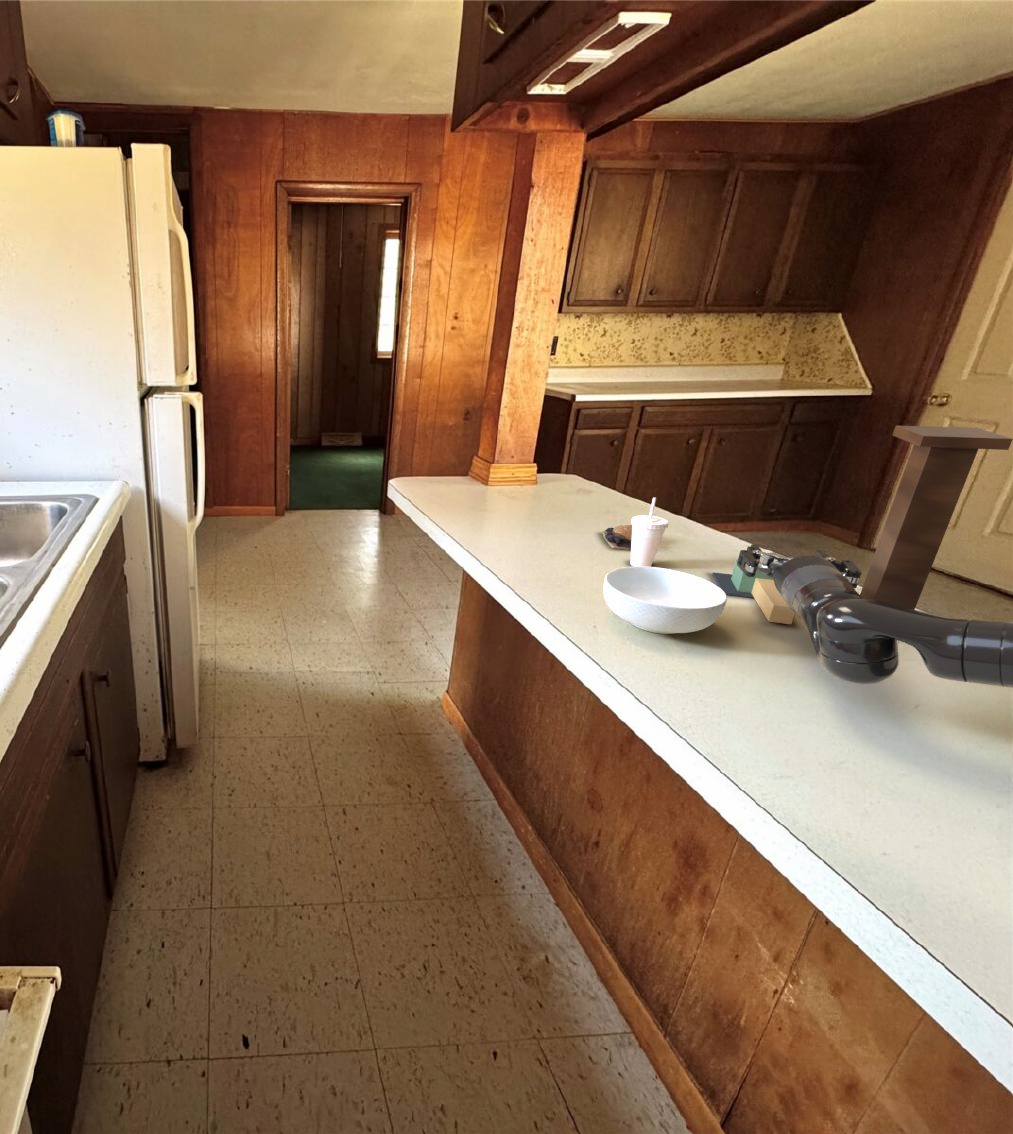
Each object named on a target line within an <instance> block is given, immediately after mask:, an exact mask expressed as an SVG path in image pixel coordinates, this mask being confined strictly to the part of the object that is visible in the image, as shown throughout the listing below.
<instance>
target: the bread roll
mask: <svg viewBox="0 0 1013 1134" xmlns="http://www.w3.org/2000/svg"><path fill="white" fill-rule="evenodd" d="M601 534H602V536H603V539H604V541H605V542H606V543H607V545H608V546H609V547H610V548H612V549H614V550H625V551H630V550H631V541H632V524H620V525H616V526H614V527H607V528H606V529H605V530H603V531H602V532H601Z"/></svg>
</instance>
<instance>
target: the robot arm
mask: <svg viewBox="0 0 1013 1134" xmlns="http://www.w3.org/2000/svg"><path fill="white" fill-rule="evenodd" d="M761 558H762V559H763V560H762V564H761V563H759V562H761ZM737 560H738V561H737V565H738V567H739V568H740V569H741V570H742V572H743V573H744V574H745V575H746V576H748V577H755V574H756V573H764V574H766V575H767V576H768V577H770V578H772V579H773V580H774V584H775V587H776V589H777V590H778V592H779V593H780V595H781V596H782V597H783V599H784V600H785V602H786V603H787V605H788V606H789V607H790V609H791V610H792V611H793V612H794V613H795V615H796V616H797V617H798V618H799V619H800V621H801V622H802V624H803V625H804V626H805V627H806V629H807V632H808V634H809V638H810V641H811V644H812V647H813V649H814V652H815V654H816V657H817V659H818V661H819V663H820V665H821V666H822V668H824V670H825V671H826V672H828V673H829V674H830V675H831V676H833V677H835V678H837V679H838V680H840V681H843V682H847V683H850V684H855V685H875V684H879V683H881V682H884V681H887V680H888V679H890V678H891V677H892V676H893V675H894V674H895V673H896V672H897V670H898V669H899V668H898V667H899V665H900V664H899V662H900V657H899V655H900V654H899V645H898V641H900V642H902V643H903V644H904V643H905V644H907V645H909V646H911V647H913V648H914V649H915V650H916V651H917V652H918V654H919V655H920V656H921V659H922V661H923V663H924V666H925V668H926V669H927V671H928V672H929V673H930V674H931V675H932V676H933V677H936V678H938V679H942V680H947V681H954V682H962V683H970V684H971V683H972V684H976V685H977V684H978V685H985V686H994V687H1005V688H1012V689H1013V621H1002V620H1001V621H1000V620H985V619H984V620H982V619H970V618H957V617H951V616H944V615H941V614H937V613H936V614H935V613H931V612H927V611H922V610H917V609H915V610H914V609H909V608H905V607H902V606H898V605H894V604H890V603H887V602H883V601H878V600H873V599H867V598H862V597H861V596H860V593H859V592H858V591H857V590H856V589H857V587H858V585H859V582H860V580H861V576H862V574H863V572H862V571H861V569H859V568H858V566H857V565H856V564H855V563H854V562H853V561H852V560H850V559H842V560H841V561H837V558H835V557H833V556H830V555H829V554H827V553H825V552H824V551H823V550H822V549H815V550H814V552H813V555H802V556H801V555H800V556H797V557H792V556H785V555H782V554H779V553H776V552H773V551H772V552H765V551H762V549H761V547H760V546H759V544H756V543H752V544H751V545H750V546H749V545H747V547H746V549H741V550H740V551H739V554H738V558H737Z"/></svg>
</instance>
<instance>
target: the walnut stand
mask: <svg viewBox="0 0 1013 1134" xmlns="http://www.w3.org/2000/svg"><path fill="white" fill-rule="evenodd" d="M892 436H893V437H895V438H898V439H899V440H903V441H904V442H907V443H909V444H912V445H913V446H912V448H911V450H910V454H909V457H908V459H907V462H906V465H905V468H904V471H903V473H902V476H901V479H900V482H899V485H898V488H897V490H896V493H895V495H894V499H893V502H892V505H891V507H890V510H889V512H888V515H887V518H886V519H885V520H886V521H885V524H884V527H883V529H882V532H881V534H880V538H879V540H878V543H877V546H876V549H875V551H874V554H873V557H872V560H871V562H870V565H869V568H868V571H867V574H866V576H865V579H864V582H863V585H862V588H861V590H860V593H859V595H860V596H861V597H862V598H867V599H873V600H878V601H883V602H887V603H890V604H894V605H898V606H902V607H905V608H909V609H914V610H916V607H917V605H918V602H919V600H920V597H921V595H922V592H923V590H924V587H925V585H926V582H927V581H928V577H929V574H930V572H931V571H932V570H931V569H932V567H933V565H934V563H935V560H936V557H937V554H938V552H939V550H940V547H941V544H942V542H943V539H944V537H945V535H946V533H947V530H948V527H949V525H950V523H951V519H952V517H953V515H954V512H955V510H956V507H957V504H958V502H959V500H960V497H961V494H962V492H963V490H964V487H965V484H966V481H967V479H968V477H969V474H970V471H971V469H972V467H973V464H974V462H975V459H976V457H977V455H978V452H979V450H998V451H999V450H1001V451H1009V449H1010V447H1011V444H1012V442H1013V438H1011V437H1008V436H1004V435H1002V434H999V433H996V432H992V431H989V430H985V429H982V428H980V427H979V428H978V427H962V426H960V427H958V426H923V425H895V427H894V429H893V432H892Z"/></svg>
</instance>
